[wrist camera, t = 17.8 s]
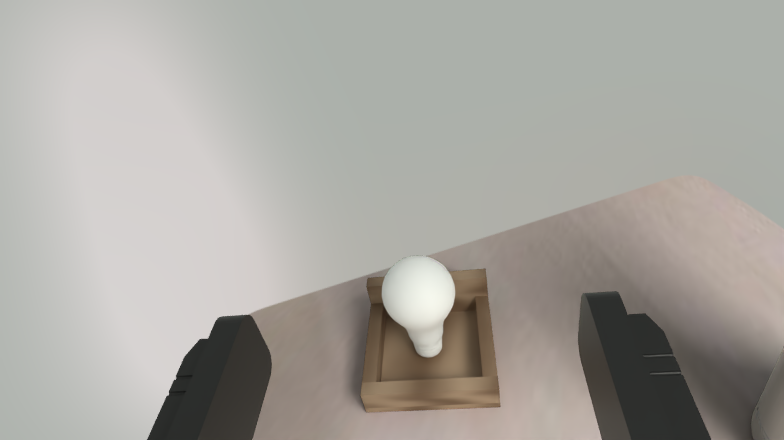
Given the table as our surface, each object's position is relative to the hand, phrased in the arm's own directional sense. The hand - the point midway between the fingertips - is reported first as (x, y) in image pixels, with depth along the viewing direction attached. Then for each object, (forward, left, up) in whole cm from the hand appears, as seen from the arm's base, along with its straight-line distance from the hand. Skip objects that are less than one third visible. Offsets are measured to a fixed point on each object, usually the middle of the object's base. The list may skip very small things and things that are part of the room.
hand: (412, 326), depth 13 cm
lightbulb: (+3, -22, -30) cm, 37 cm away
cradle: (+3, -22, -30) cm, 37 cm away
